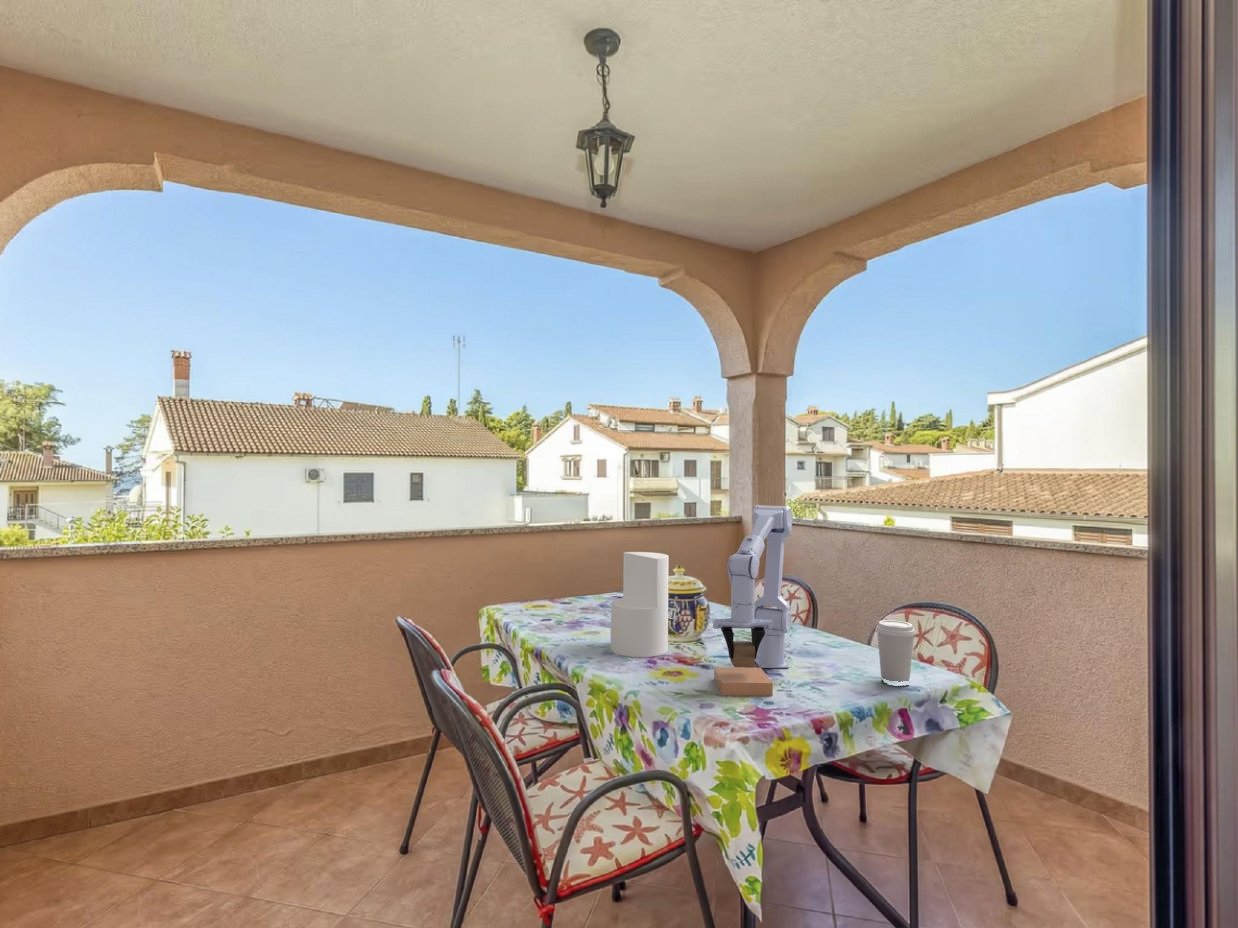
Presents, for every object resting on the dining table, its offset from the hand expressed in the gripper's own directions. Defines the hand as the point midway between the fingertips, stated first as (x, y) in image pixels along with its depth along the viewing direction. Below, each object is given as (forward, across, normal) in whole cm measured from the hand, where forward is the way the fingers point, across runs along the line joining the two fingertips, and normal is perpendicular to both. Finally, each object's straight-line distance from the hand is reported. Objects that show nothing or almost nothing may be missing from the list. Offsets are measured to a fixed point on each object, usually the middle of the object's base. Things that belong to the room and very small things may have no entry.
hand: (742, 657), depth 159 cm
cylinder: (+8, -24, +34) cm, 42 cm away
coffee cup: (+8, +40, +4) cm, 41 cm away
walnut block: (+2, 0, 0) cm, 2 cm away
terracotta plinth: (+7, 0, 0) cm, 7 cm away
